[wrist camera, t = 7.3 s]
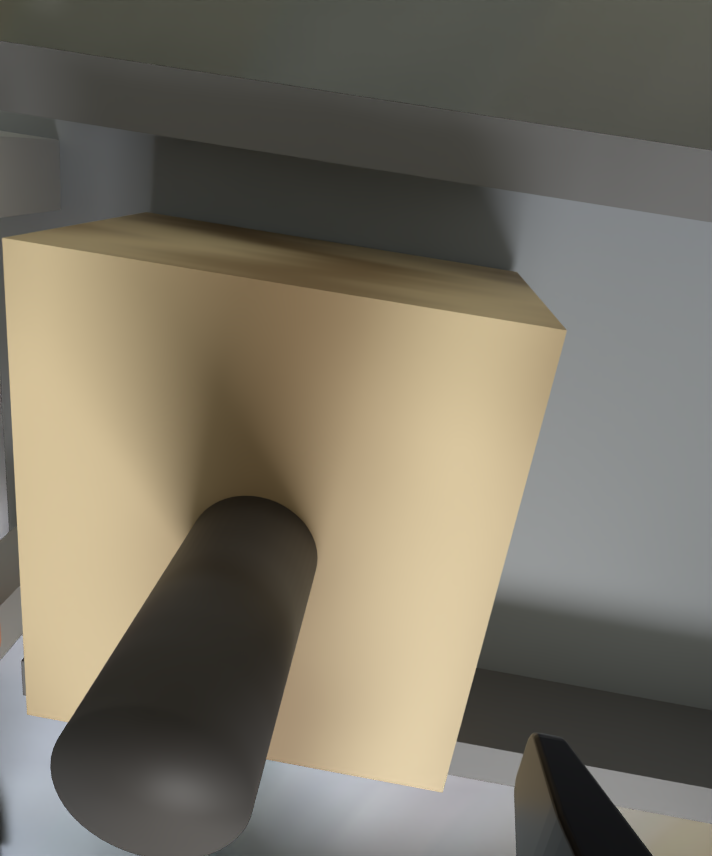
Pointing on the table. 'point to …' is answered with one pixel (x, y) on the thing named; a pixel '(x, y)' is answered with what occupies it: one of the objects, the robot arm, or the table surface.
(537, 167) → the tray
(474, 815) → the table surface
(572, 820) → the robot arm
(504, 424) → the beige block with peg
